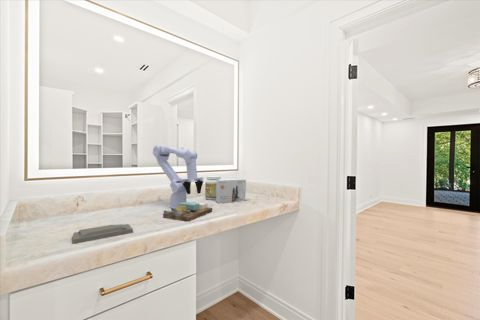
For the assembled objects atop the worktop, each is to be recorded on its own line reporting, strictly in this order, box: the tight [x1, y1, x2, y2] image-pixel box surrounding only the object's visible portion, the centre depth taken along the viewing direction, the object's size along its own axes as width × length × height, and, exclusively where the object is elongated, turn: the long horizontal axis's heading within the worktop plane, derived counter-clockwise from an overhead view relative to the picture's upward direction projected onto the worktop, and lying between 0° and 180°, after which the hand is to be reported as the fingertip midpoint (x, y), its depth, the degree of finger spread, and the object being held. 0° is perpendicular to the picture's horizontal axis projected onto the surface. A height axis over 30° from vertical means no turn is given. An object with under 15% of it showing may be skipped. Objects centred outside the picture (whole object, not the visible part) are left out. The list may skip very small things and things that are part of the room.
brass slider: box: [177, 205, 187, 214], centre depth 113 cm, size 3×4×4 cm
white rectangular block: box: [191, 201, 208, 209], centre depth 128 cm, size 10×5×2 cm, turn 65°
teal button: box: [179, 201, 199, 210], centre depth 120 cm, size 10×5×2 cm, turn 66°
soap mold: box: [72, 223, 134, 245], centre depth 89 cm, size 10×20×4 cm, turn 128°
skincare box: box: [215, 178, 247, 204], centre depth 156 cm, size 21×6×16 cm, turn 118°
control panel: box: [162, 207, 213, 222], centre depth 120 cm, size 16×22×4 cm
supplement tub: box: [204, 175, 221, 201], centre depth 166 cm, size 12×12×17 cm
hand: (193, 193), depth 131 cm, fingers open, 7 cm apart
